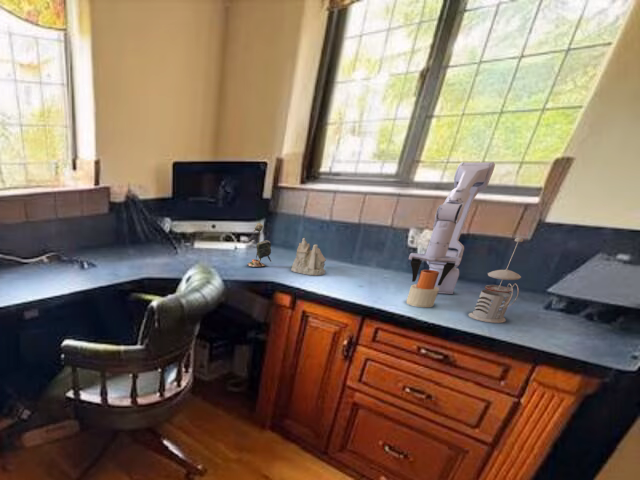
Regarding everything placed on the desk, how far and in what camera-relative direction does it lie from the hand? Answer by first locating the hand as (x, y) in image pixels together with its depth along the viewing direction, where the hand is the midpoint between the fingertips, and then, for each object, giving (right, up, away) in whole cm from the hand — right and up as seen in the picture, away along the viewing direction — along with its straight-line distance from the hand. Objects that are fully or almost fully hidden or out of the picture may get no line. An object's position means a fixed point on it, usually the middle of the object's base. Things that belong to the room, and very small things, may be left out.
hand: (426, 282), depth 146 cm
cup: (0, -1, +1) cm, 2 cm away
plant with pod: (-41, +22, +58) cm, 74 cm away
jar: (0, -7, +4) cm, 8 cm away
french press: (+13, -14, -10) cm, 22 cm away
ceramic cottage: (-20, +17, +48) cm, 55 cm away
